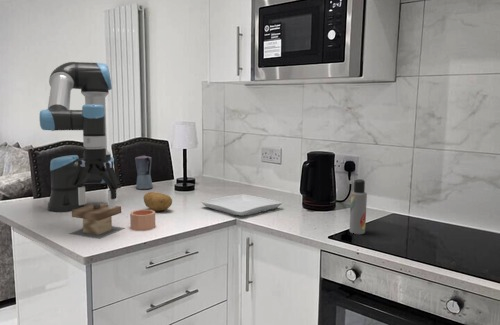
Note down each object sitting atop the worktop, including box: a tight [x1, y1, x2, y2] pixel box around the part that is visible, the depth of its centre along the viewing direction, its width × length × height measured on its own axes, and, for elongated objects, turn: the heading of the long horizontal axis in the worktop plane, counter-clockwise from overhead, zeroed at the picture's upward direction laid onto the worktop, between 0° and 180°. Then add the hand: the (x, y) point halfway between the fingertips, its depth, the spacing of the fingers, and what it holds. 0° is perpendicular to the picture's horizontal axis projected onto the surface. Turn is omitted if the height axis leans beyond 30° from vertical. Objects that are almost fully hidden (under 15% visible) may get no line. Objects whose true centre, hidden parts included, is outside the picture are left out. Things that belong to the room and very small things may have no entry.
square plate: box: [200, 193, 283, 217], centre depth 194 cm, size 27×27×4 cm
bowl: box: [129, 209, 157, 231], centre depth 161 cm, size 9×9×6 cm
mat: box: [68, 225, 126, 240], centre depth 156 cm, size 14×14×1 cm
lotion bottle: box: [349, 178, 368, 235], centre depth 158 cm, size 6×6×20 cm
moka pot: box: [134, 152, 153, 190], centre depth 235 cm, size 10×15×20 cm, turn 40°
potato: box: [143, 191, 173, 212], centre depth 187 cm, size 10×14×8 cm
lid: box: [71, 202, 122, 221], centre depth 154 cm, size 12×12×4 cm
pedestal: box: [82, 216, 113, 235], centre depth 155 cm, size 7×7×6 cm
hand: (96, 206), depth 154 cm, fingers open, 13 cm apart
